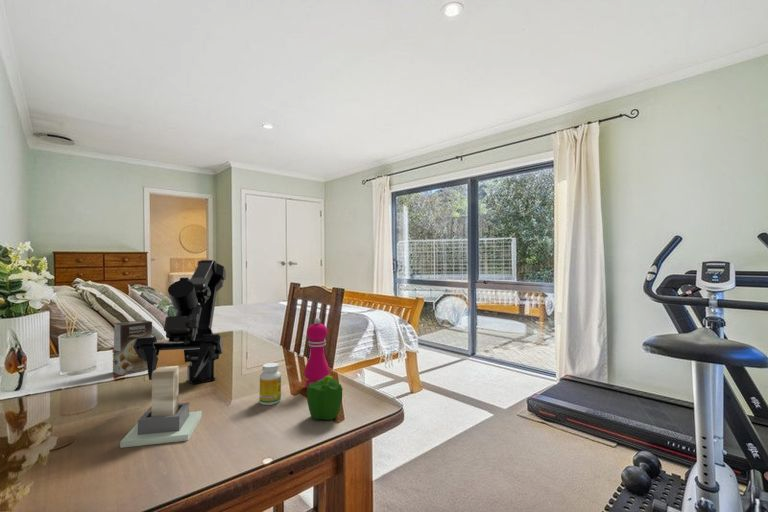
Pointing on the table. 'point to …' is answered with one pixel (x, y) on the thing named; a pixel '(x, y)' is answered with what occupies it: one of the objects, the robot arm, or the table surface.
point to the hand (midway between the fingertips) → (172, 378)
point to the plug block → (165, 391)
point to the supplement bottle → (270, 384)
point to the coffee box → (129, 346)
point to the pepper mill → (316, 353)
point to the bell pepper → (324, 398)
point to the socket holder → (162, 428)
